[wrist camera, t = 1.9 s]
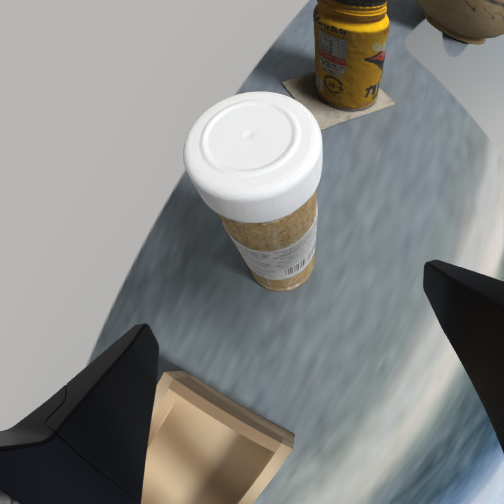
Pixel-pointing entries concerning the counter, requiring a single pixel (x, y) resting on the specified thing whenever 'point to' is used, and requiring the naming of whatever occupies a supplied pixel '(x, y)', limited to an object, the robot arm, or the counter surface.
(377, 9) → the condiment
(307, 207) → the sprinkles bottle
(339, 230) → the counter surface
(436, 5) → the decorative pitcher
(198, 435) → the wooden tray
